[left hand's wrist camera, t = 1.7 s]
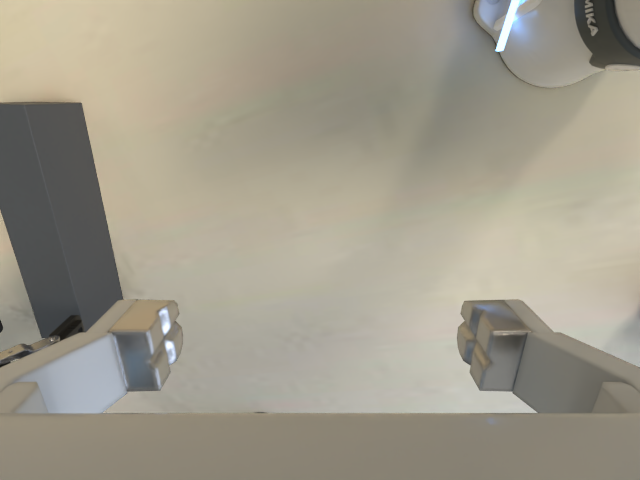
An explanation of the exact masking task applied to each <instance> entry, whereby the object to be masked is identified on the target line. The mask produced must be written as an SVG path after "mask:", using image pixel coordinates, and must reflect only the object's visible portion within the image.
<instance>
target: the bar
mask: <svg viewBox="0 0 640 480" xmlns="http://www.w3.org/2000/svg"><path fill="white" fill-rule="evenodd" d="M0 210H1V213H2V216H3V219H4V222H5V225H6V228H7V232H8V235H9V238H10V241H11V244H12V247H13V250H14V253H15V256H16V259H17V262H18V266H19V269H20V272H21V275H22V278H23V281H24V284H25V287H26V290H27V293H28V296H29V300H30V303H31V306H32V309H33V312H34V315H35V318H36V321H37V324H38V327H39V330H40V334H41V337H42V338H48V337H49V335H50V334H51V333H52V332H53V331H54V330H55V329H56V328H57V327H58V326H60V325H61V324H62V323H63V322H64V321H65V320H66V319H67V318H68V317H69V316H71V315H80V317H81V320H82V322H83V326H84V329H85V333H86V332H87V331H88V330H89V329H90V328H91V327H92V326H93V325H94V324H95V323H96V322H97V321H98V320H99V319H100V318H101V317H102V316H103V315H104V314H105V313H106V312H107V311H108V310H109V309H110V308H111V307H112V306H113V305H114V304H115V303H116V302H117V301H118V300H123V297H122V292H121V287H120V282H119V278H118V273H117V268H116V264H115V259H114V254H113V250H112V245H111V240H110V235H109V231H108V226H107V221H106V217H105V212H104V207H103V202H102V198H101V193H100V188H99V184H98V179H97V174H96V169H95V165H94V160H93V155H92V151H91V146H90V141H89V137H88V132H87V127H86V122H85V118H84V113H83V108H82V104H81V103H64V102H8V103H0Z"/></svg>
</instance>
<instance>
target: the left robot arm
mask: <svg viewBox="0 0 640 480" xmlns="http://www.w3.org/2000/svg"><path fill="white" fill-rule="evenodd" d="M473 15H474V18H475V20H476V21H477V23H478V24H479V25H480V26H481V27H482V28H483V29H484V30H485V31H486V32H488V33H489V34H490V35H491V36H492V37H493V39H494V41H495V43H496V45H497V48H496V51H498V52H499V53H500V55H501V57H502V59H503V61H504V62H505V64H506V65H507V67H508V68H509V69H510V70H511V72H513V73H514V74H515V75H516V76H517V77H518V78H520V79H521V80H523V81H525V82H527V83H529V84H532V85H535V86H539V87H545V88H556V87H563V86H567V85H571V84H574V83H576V82H579V81H581V80H583V79H585V78H587V77H589V76H590V75H593V74H595V73H598V72H601V71H604V70H610V71H630V70H640V0H476V1H475V5H474V9H473ZM178 315H179V309H178V305H177V303H176V302H175V301H174V300H138V299H132V300H118V301H117V302H116V303H115V304H114V305H113V306H112V307H111V308H110V309H109V310H108V311H107V312H106V313H105V314H104V315H103V316H102V317H101V318H100V319H99V320H98V321H97V322H96V323H95V324H94V325H93V326H92V327H91V328H90V329H89V330H88V331H87V332H86V333H78V334H75V335H73V336H71V337H69V338H66V339H64V340H62V341H59V342H57V343H55V344H53V345H50V346H48V347H46V348H44V349H41V350H39V351H37V352H34V353H32V354H30V355H28V356H25V357H23V358H21V359H19V360H16V361H14V362H12V363H9V364H7V365H5V366H3V367H0V480H640V368H639V367H637V366H635V365H633V364H630V363H628V362H626V361H624V360H621V359H619V358H617V357H615V356H612V355H610V354H608V353H605V352H603V351H601V350H599V349H596V348H594V347H592V346H590V345H587V344H585V343H583V342H581V341H578V340H576V339H574V338H571V337H569V336H567V335H565V334H562V333H554V332H553V331H552V330H551V329H550V328H549V327H548V326H547V325H546V324H545V323H544V322H543V321H542V320H541V319H540V318H539V317H538V316H537V315H536V314H535V313H534V312H533V311H532V310H531V309H530V308H529V307H528V306H527V305H526V304H525V303H524V302H523V301H521V300H519V299H512V300H477V301H464V303H463V305H462V309H461V315H462V317H463V319H464V320H465V321H464V322H463V323H462V324H461V325H460V326H459V327H458V333H457V343H458V349H459V353H460V355H461V357H462V359H463V361H465V362H466V363H468V364H469V365H471V367H470V374H471V376H472V378H473V379H474V381H475V383H476V385H477V387H478V388H479V390H480V391H513V394H515V395H516V396H517V397H518V398H520V399H521V400H522V401H524V402H525V403H526V404H527V405H529V406H530V407H531V408H533V409H534V410H535V411H536V412H538V413H102V412H104V411H105V410H106V409H108V408H109V407H110V406H111V405H113V404H114V403H115V402H117V401H118V400H119V399H120V398H122V397H123V396H124V395H126V394H127V391H160V390H161V388H162V387H163V385H164V383H165V381H166V379H167V377H168V376H169V374H170V367H169V365H171V364H172V363H174V362H175V361H177V359H178V357H179V355H180V353H181V349H182V344H183V333H182V327H181V326H180V325H179V324H178V323H177V322H176V321H175V320H176V319H177V317H178Z"/></svg>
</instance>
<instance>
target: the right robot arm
mask: <svg viewBox="0 0 640 480" xmlns="http://www.w3.org/2000/svg"><path fill="white" fill-rule="evenodd" d="M2 330H3V326H2V323H1V321H0V333H1V332H2ZM78 333H85V329H84V326H83V322H82V320H81V317H80V315H71V316H69V317H68V318H67V319H66V320H65V321H64V322H63V323H62V324H61V325H60V326H58V327H57V328H56V329H55V330H54V331H53V332H52V333H51V334H50V335H49V337H48V338H46V339H43V340H41V341H39V342H36V343H34V344H32V345H26V344H19V345H17V346H14V347H12V348H10V349H7V350H5V351H3V352H0V367H3V366H5V365H7V364H9V363H11V362H10V361H12V360H14V359H21V358H23V357H25V356H28V355H30V354H32V353H34V352H37V351H39V350H41V349H44V348H46V347H48V346H50V345H53V344H55V343H57V342H59V341H62V340H64V339H66V338H69V337H71V336H73V335H75V334H78Z"/></svg>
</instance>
